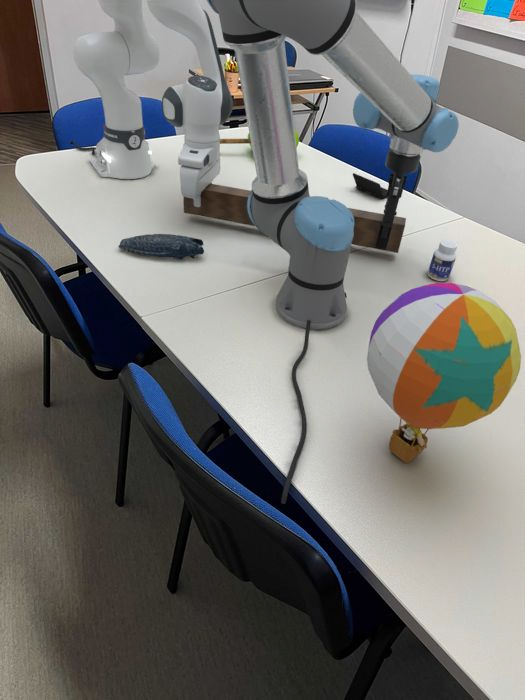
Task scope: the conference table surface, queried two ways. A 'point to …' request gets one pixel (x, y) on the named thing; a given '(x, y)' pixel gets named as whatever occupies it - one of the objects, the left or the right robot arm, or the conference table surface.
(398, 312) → the toy
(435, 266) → the pill bottle
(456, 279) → the conference table surface
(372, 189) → the handheld gaming console
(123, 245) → the fish model
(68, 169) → the conference table surface
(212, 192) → the bar
